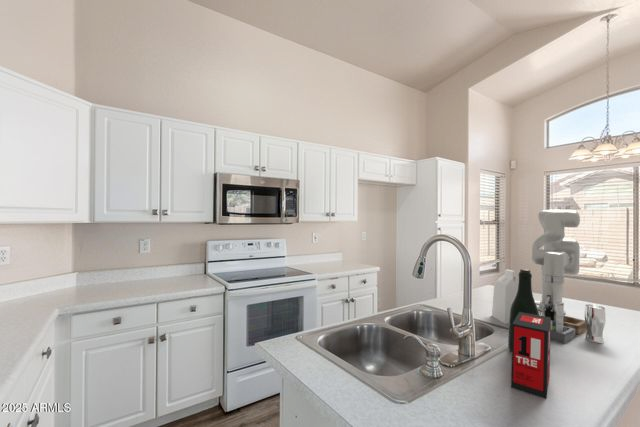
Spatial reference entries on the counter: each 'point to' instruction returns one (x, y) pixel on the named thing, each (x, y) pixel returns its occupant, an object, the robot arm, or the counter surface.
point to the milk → (504, 295)
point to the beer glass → (595, 322)
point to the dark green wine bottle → (522, 301)
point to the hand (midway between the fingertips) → (552, 317)
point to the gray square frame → (563, 335)
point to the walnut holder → (575, 324)
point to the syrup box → (556, 316)
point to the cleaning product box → (531, 354)
